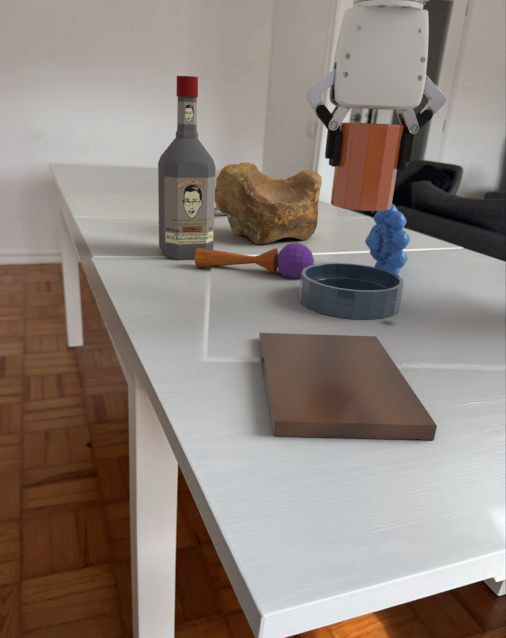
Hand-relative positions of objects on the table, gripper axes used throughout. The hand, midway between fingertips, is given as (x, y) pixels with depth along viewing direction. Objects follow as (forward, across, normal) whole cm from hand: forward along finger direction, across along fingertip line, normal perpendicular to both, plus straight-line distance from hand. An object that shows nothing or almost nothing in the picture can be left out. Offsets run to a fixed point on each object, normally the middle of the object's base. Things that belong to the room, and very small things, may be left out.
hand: (365, 165), depth 67 cm
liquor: (+20, +24, -32) cm, 45 cm away
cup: (+5, 0, 0) cm, 5 cm away
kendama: (+20, +12, -20) cm, 31 cm away
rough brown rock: (+20, +7, -47) cm, 52 cm away
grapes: (+20, -10, -22) cm, 32 cm away
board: (+20, +5, +20) cm, 28 cm away
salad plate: (+20, +21, -80) cm, 85 cm away
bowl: (+20, -1, -5) cm, 21 cm away
